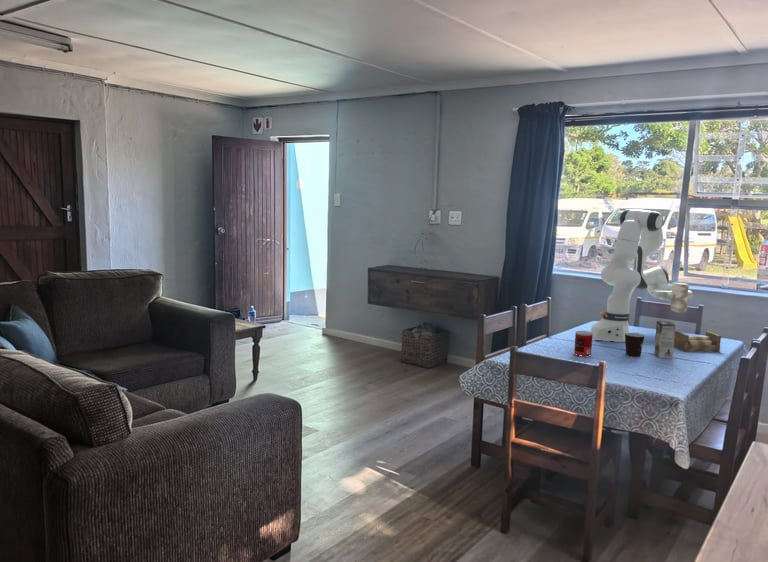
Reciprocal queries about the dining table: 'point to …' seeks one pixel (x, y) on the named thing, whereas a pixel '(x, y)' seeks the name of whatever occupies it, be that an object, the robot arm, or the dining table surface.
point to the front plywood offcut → (699, 342)
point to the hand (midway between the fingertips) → (679, 296)
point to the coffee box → (664, 339)
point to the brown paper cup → (634, 344)
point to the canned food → (583, 343)
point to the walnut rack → (682, 344)
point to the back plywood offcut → (698, 338)
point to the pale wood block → (679, 297)
